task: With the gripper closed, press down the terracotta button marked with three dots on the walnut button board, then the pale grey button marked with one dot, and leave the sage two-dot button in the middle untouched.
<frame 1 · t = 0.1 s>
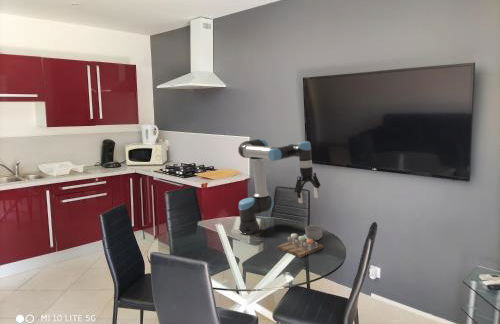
hand: (308, 200, 230), 28 cm above the table, tool pointing down, fingers open, 13 cm apart
teacup: (314, 238, 242), on the table
button one: (294, 236, 234), point 5 cm above the table, slide at 0.0 cm
button two: (301, 239, 229), point 5 cm above the table, slide at 0.0 cm
button board: (300, 248, 228), on the table
button three: (309, 242, 223), point 5 cm above the table, slide at 0.0 cm
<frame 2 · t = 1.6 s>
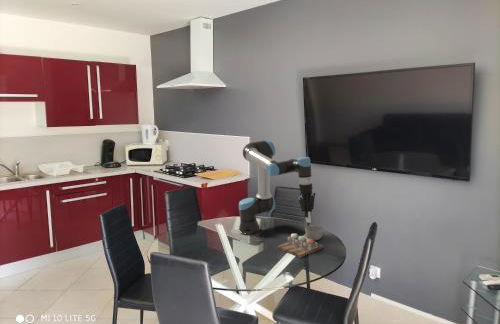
hand: (308, 222, 221), 18 cm above the table, tool pointing down, fingers closed
nothing on the table moved.
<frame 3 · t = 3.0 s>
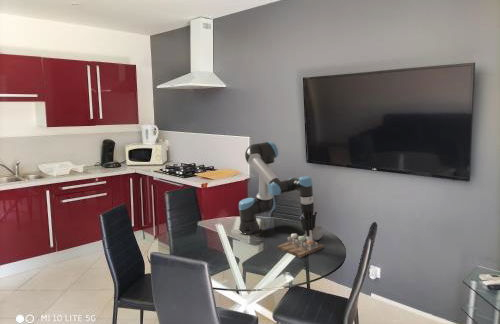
hand: (309, 240, 223), 6 cm above the table, tool pointing down, fingers closed
button three: (310, 243, 223), point 4 cm above the table, slide at 0.7 cm, touching gripper
everything else where it was.
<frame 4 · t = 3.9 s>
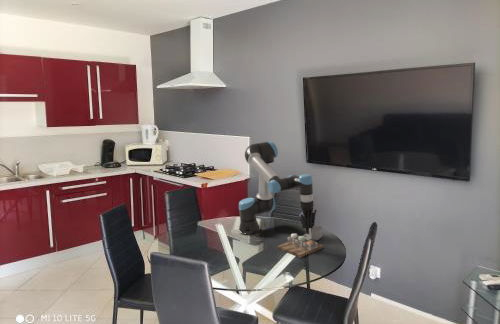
hand: (309, 238, 223), 8 cm above the table, tool pointing down, fingers closed
button three: (310, 244, 223), point 4 cm above the table, slide at 1.6 cm
everything else where it was.
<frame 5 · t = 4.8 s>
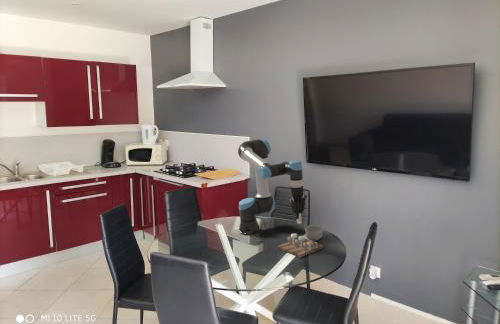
hand: (299, 223, 228), 15 cm above the table, tool pointing down, fingers closed
nothing on the table moved.
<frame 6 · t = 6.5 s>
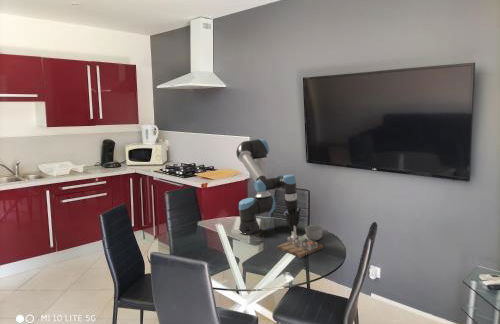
hand: (294, 235, 234), 6 cm above the table, tool pointing down, fingers closed
button one: (294, 238, 234), point 4 cm above the table, slide at 1.0 cm, touching gripper
everything else where it was.
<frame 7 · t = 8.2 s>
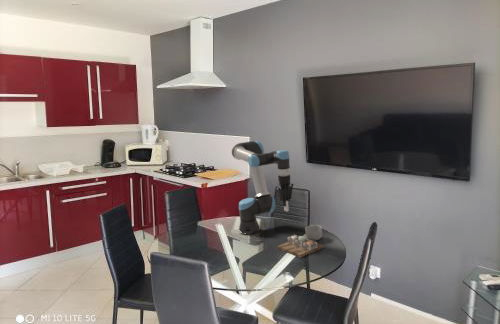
hand: (286, 210, 237), 21 cm above the table, tool pointing down, fingers closed
button one: (294, 239, 235), point 4 cm above the table, slide at 1.6 cm
everything else where it was.
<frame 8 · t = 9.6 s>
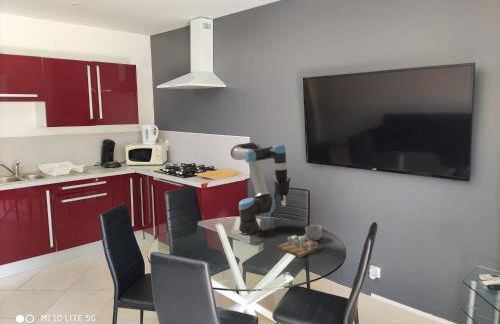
hand: (283, 205, 238), 24 cm above the table, tool pointing down, fingers closed
nothing on the table moved.
at the end: button three slide at 1.6 cm; button one slide at 1.6 cm; button two slide at 0.0 cm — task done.
